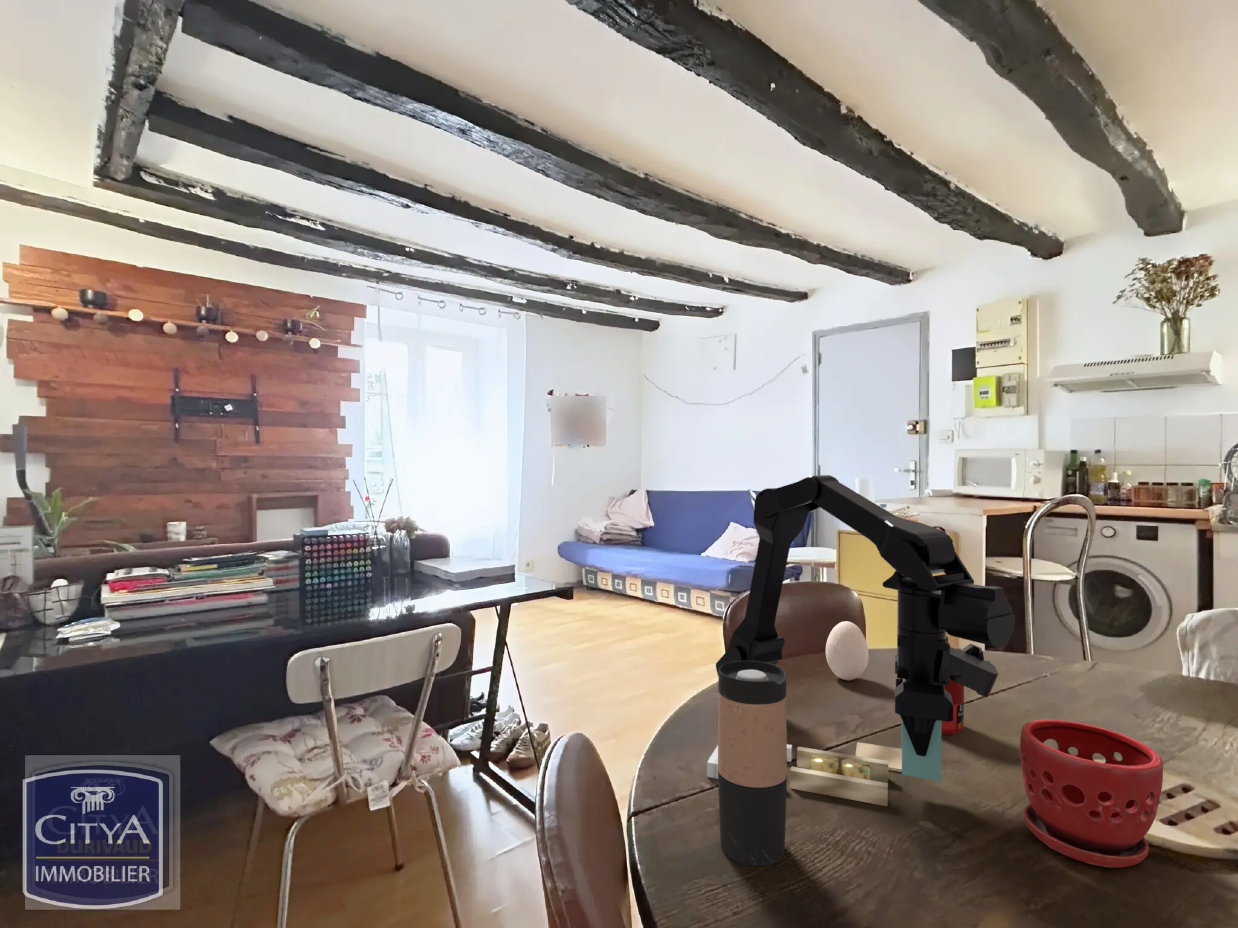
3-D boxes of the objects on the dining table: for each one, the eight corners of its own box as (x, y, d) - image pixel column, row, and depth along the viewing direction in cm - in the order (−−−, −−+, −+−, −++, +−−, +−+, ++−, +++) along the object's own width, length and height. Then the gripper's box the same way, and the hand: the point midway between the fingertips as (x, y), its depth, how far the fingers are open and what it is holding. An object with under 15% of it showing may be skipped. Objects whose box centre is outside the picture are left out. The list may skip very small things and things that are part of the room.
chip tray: (707, 776, 91) (707, 762, 91) (724, 747, 101) (724, 733, 101) (781, 790, 88) (781, 775, 88) (792, 758, 97) (792, 744, 97)
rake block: (901, 774, 85) (902, 704, 85) (901, 761, 88) (902, 693, 88) (941, 781, 83) (941, 709, 83) (939, 767, 87) (939, 698, 87)
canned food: (970, 737, 104) (970, 667, 104) (915, 733, 106) (915, 664, 105) (955, 718, 111) (955, 652, 111) (904, 714, 113) (905, 650, 113)
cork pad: (854, 764, 95) (854, 761, 95) (857, 744, 101) (857, 741, 101) (908, 773, 92) (908, 770, 92) (907, 752, 99) (907, 749, 99)
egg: (838, 670, 136) (838, 614, 136) (875, 679, 131) (876, 621, 130) (817, 678, 131) (817, 621, 131) (855, 689, 125) (855, 629, 125)
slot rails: (790, 788, 88) (790, 770, 88) (798, 762, 95) (798, 746, 95) (887, 806, 84) (887, 787, 84) (888, 778, 91) (888, 760, 91)
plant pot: (1114, 894, 67) (1115, 775, 67) (994, 827, 79) (994, 726, 79) (1189, 862, 72) (1190, 752, 72) (1065, 804, 84) (1066, 709, 84)
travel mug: (711, 829, 79) (710, 660, 78) (774, 826, 79) (774, 659, 79) (727, 869, 71) (726, 683, 71) (797, 865, 72) (797, 680, 71)
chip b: (840, 790, 88) (840, 767, 88) (842, 778, 91) (842, 756, 91) (869, 795, 86) (869, 772, 86) (870, 782, 90) (870, 760, 90)
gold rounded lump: (809, 784, 89) (809, 762, 89) (812, 772, 93) (812, 751, 93) (837, 789, 88) (837, 767, 88) (839, 777, 91) (839, 755, 91)
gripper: (1004, 655, 74) (1002, 795, 74) (983, 616, 91) (982, 730, 91) (895, 644, 78) (894, 776, 78) (895, 609, 95) (894, 717, 95)
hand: (920, 748), depth 86 cm, fingers closed on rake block, 4 cm apart
